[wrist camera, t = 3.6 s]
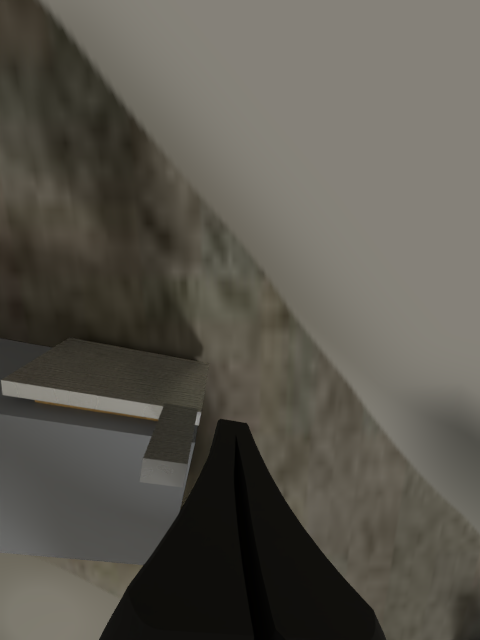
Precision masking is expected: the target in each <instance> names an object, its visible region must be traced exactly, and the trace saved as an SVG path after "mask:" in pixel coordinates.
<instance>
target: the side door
mask: <svg viewBox="0 0 480 640" xmlns="http://www.w3.org/2000/svg"><path fill="white" fill-rule="evenodd" d="M208 369H209V363H204V362H199V361H193V360H188V359H183V358H177V357H172V356H166V355H161V354H156V353H150V352H145V351H140V350H134V349H129V348H124V347H118V346H113V345H107V344H102V343H97V342H91V341H86V340H81V339H75V338H68V339H66V340H65V341H63V342H61V343H60V344H58V345H57V346H55V347H53V348H52V349H50V350H49V351H47V352H45V353H44V354H42V355H41V356H39V357H37V358H36V359H34V360H32V361H31V362H29V363H28V364H26V365H24V366H23V367H21V368H20V369H18V370H16V371H15V372H13V373H12V374H10V375H8V376H7V377H5V378H3V379H2V380H1V385H2V395H6V396H13V397H19V398H26V399H32V400H38V401H45V402H51V403H58V404H64V405H71V406H77V407H83V408H90V409H96V410H103V411H109V412H115V413H122V414H128V415H135V416H141V417H147V418H154V419H158V421H157V424H156V426H155V429H154V431H153V434H152V437H151V439H150V442H149V444H148V447H147V449H146V452H145V454H144V457H143V462H142V469H141V476H140V482H143V483H151V484H159V485H167V486H175V487H183V483H184V478H185V474H186V469H187V465H188V460H189V454H190V449H191V443H192V438H193V433H194V427H195V425H199V421H200V416H201V412H202V406H203V399H204V393H205V387H206V381H207V375H208Z"/></svg>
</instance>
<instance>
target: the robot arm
mask: <svg viewBox="0 0 480 640" xmlns="http://www.w3.org/2000/svg"><path fill="white" fill-rule="evenodd" d="M99 640H386V638H385V635H384V633H383V630H382V628H381V626H380V624H379V622H378V619H377V617H376V615H375V613H374V610H373V609H372V608H371V607H370V606H369V605H368V604H367V603H366V602H365V600H364V599H363V598H362V597H361V596H360V595H359V594H358V593H357V592H356V591H355V590H354V588H353V587H352V586H351V585H350V584H349V583H348V582H347V581H346V580H345V579H344V578H343V576H342V575H341V574H340V573H339V572H338V571H337V569H336V568H335V567H334V566H333V565H332V563H331V562H330V561H329V560H328V559H327V558H326V556H325V555H324V554H323V553H322V551H321V550H320V549H319V547H318V546H317V545H316V543H315V542H314V541H313V539H312V538H311V537H310V536H309V534H308V533H307V532H306V530H305V529H304V528H303V526H302V525H301V523H300V522H299V520H298V519H297V517H296V516H295V515H294V513H293V512H292V510H291V509H290V507H289V505H288V504H287V502H286V501H285V499H284V497H283V496H282V494H281V492H280V491H279V489H278V487H277V486H276V484H275V482H274V480H273V478H272V477H271V475H270V473H269V471H268V469H267V467H266V465H265V463H264V461H263V459H262V457H261V455H260V452H259V450H258V448H257V446H256V444H255V441H254V439H253V436H252V434H251V431H250V429H249V426H248V424H247V423H242V422H236V421H230V420H224V419H220V420H218V423H217V426H216V430H215V434H214V438H213V442H212V446H211V449H210V454H209V456H208V459H207V461H206V463H205V465H204V467H203V469H202V472H201V474H200V476H199V478H198V480H197V482H196V484H195V486H194V488H193V489H192V491H191V493H190V495H189V497H188V498H187V500H186V502H185V504H184V505H183V507H182V509H181V510H180V512H179V514H178V515H177V517H176V519H175V520H174V522H173V523H172V525H171V526H170V528H169V529H168V531H167V532H166V534H165V535H164V537H163V538H162V540H161V541H160V543H159V544H158V546H157V547H156V549H155V550H154V552H153V553H152V555H151V556H150V557H149V559H148V560H147V561H146V563H145V564H144V566H143V567H142V568H141V570H140V571H139V572H138V574H137V575H136V576H135V578H134V579H133V580H132V582H131V583H130V585H129V586H128V587H127V589H126V591H125V593H124V595H123V597H122V599H121V600H120V602H119V604H118V606H117V608H116V609H115V611H114V613H113V614H112V616H111V618H110V620H109V622H108V623H107V625H106V627H105V629H104V631H103V633H102V635H101V637H100V639H99Z"/></svg>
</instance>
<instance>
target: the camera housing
mask: <svg viewBox="0 0 480 640" xmlns="http://www.w3.org/2000/svg"><path fill="white" fill-rule="evenodd" d="M50 349H52V347H46V346H41V345H35V344H29V343H24V342H18V341H13V340H7V339H2V338H0V552H2V553H13V554H24V555H36V556H47V557H58V558H70V559H81V560H93V561H104V562H116V563H127V564H138V565H144V564H145V563H146V561H147V560H148V559H149V557H150V556H151V555H152V553H153V552H154V550H155V549H156V547H157V546H158V544H159V543H160V541H161V540H162V538H163V537H164V535H165V534H166V532H167V531H168V529H169V528H170V526H171V525H172V523H173V522H174V520H175V519H176V517H177V515H178V514H179V512H180V508H181V503H182V499H183V494H184V490H185V485H186V481H187V476H188V472H189V467H190V463H191V458H192V454H193V450H194V445H195V440H196V434H197V428H198V425H195V427H194V433H193V438H192V443H191V449H190V454H189V460H188V465H187V469H186V474H185V478H184V483H183V487H175V486H167V485H159V484H151V483H143V482H140V476H141V469H142V462H143V457H144V454H145V452H146V449H147V447H148V444H149V442H150V439H151V437H152V434H153V431H154V429H155V426H156V424H157V421H158V419H154V418H147V417H141V416H135V415H128V414H122V413H115V412H109V411H103V410H96V409H90V408H83V407H77V406H71V405H64V404H58V403H51V402H45V401H38V400H32V399H26V398H19V397H13V396H6V395H2V385H1V380H2V379H3V378H5V377H7V376H8V375H10V374H12V373H13V372H15V371H16V370H18V369H20V368H21V367H23V366H24V365H26V364H28V363H29V362H31V361H32V360H34V359H36V358H37V357H39V356H41V355H42V354H44V353H45V352H47V351H49V350H50Z"/></svg>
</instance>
